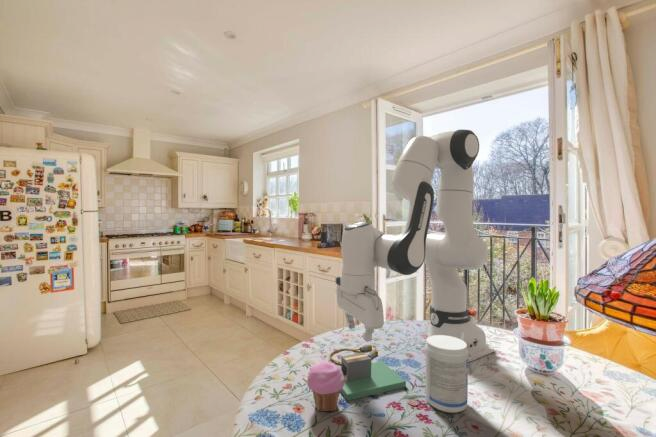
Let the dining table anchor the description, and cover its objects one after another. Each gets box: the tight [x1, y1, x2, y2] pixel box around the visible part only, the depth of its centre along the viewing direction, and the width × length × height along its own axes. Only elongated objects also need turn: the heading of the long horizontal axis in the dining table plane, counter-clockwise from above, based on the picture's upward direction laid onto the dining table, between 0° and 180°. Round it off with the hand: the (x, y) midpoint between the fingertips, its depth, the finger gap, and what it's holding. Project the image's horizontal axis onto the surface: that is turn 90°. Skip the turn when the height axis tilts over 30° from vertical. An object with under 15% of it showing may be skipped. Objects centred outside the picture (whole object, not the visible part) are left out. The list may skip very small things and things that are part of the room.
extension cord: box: [329, 344, 379, 366], centre depth 100 cm, size 12×16×2 cm
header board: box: [340, 360, 407, 402], centre depth 85 cm, size 17×12×4 cm
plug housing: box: [340, 352, 372, 382], centre depth 85 cm, size 7×4×5 cm, turn 112°
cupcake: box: [306, 361, 345, 412], centre depth 74 cm, size 9×9×10 cm
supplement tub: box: [424, 335, 469, 414], centre depth 76 cm, size 10×10×15 cm
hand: (358, 333), depth 85 cm, fingers open, 8 cm apart
